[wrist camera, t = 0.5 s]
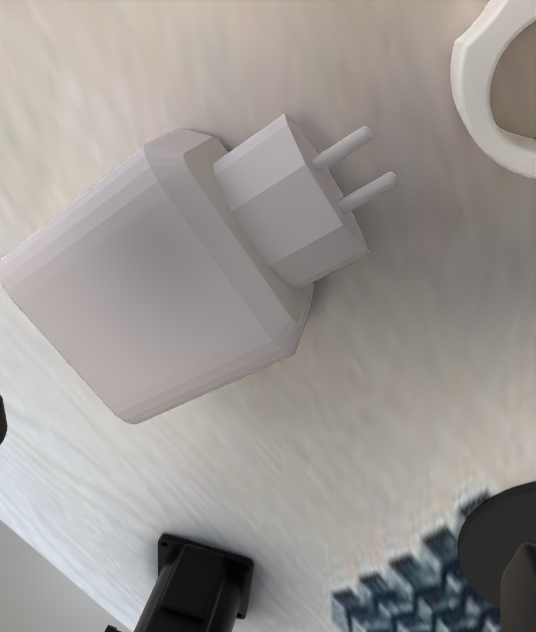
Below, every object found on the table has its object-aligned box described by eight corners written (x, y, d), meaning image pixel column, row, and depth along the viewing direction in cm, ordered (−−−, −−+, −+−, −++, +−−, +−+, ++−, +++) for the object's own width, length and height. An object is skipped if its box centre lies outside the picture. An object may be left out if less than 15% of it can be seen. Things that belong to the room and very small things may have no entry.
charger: (443, 242, 20) (172, 373, 27) (321, 20, 17) (53, 228, 24) (451, 296, 16) (130, 434, 23) (295, 20, 13) (-17, 269, 20)
